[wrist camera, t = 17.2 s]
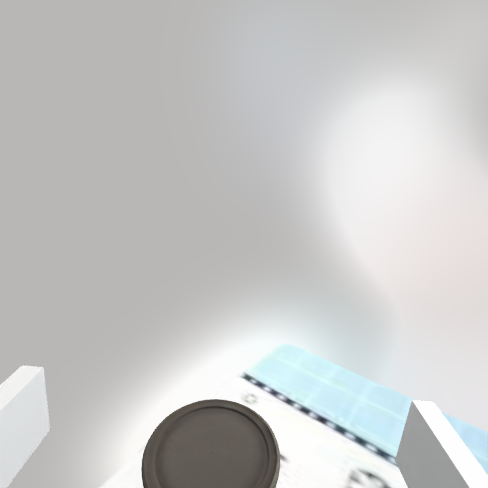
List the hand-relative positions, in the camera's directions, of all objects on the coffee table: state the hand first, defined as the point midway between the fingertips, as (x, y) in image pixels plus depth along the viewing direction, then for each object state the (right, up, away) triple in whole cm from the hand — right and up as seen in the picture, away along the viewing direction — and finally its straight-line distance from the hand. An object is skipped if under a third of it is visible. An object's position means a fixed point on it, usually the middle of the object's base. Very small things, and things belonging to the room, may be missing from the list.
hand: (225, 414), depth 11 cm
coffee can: (-2, -23, +17) cm, 29 cm away
